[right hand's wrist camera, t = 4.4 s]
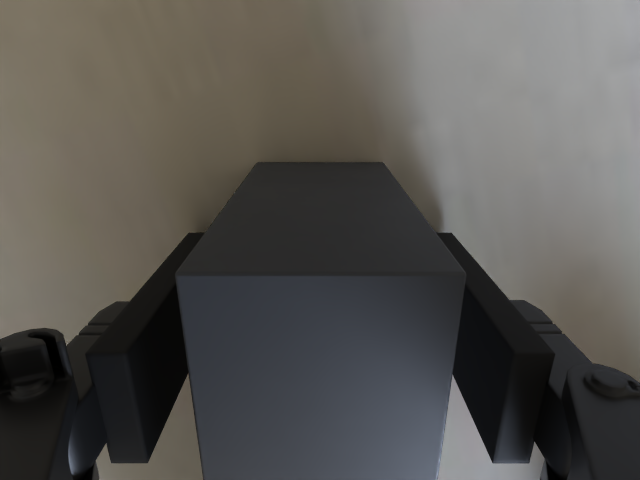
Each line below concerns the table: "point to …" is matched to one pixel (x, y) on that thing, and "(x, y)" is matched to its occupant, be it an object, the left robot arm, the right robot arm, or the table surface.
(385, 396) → the bar
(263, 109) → the table surface
